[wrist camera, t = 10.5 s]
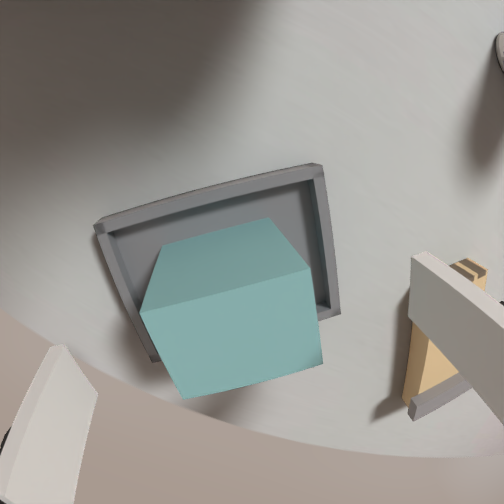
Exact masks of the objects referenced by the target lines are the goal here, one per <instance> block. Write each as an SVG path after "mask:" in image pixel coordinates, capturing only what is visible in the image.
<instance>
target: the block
mask: <svg viewBox="0 0 504 504" xmlns="http://www.w3.org/2000/svg"><path fill="white" fill-rule="evenodd" d="M140 315H141V318H142V320H143V322H144V324H145V326H146V328H147V331H148V333H149V335H150V337H151V339H152V341H153V343H154V345H155V347H156V349H157V351H158V353H159V355H160V357H161V359H162V361H163V363H164V365H165V367H166V369H167V371H168V373H169V375H170V376H171V378H172V380H173V382H174V384H175V386H176V388H177V389H178V391H179V393H180V395H181V397H182V398H183V400H184V399H189V398H194V397H199V396H204V395H209V394H214V393H218V392H223V391H227V390H232V389H236V388H240V387H244V386H248V385H252V384H256V383H260V382H264V381H267V380H271V379H275V378H278V377H282V376H285V375H289V374H292V373H295V372H299V371H302V370H305V369H308V368H311V367H315V366H318V365H321V364H323V359H322V351H321V342H320V334H319V326H318V318H317V311H316V304H315V297H314V290H313V283H312V276H311V270H310V267H309V266H308V265H307V263H306V262H305V261H304V260H303V258H302V257H301V256H300V255H299V254H298V252H297V251H296V250H295V249H294V247H293V246H292V245H291V244H290V242H289V241H288V240H287V239H286V238H285V236H284V235H283V234H282V233H281V231H280V230H279V229H278V228H277V227H276V225H275V224H274V223H273V222H272V220H271V219H270V218H269V217H268V218H264V219H260V220H256V221H252V222H248V223H245V224H241V225H237V226H233V227H229V228H225V229H222V230H218V231H214V232H210V233H207V234H203V235H199V236H196V237H192V238H188V239H185V240H181V241H177V242H174V243H170V244H167V245H163V246H162V248H161V251H160V253H159V256H158V259H157V262H156V265H155V267H154V270H153V273H152V276H151V279H150V282H149V285H148V288H147V291H146V294H145V297H144V300H143V303H142V306H141V310H140Z"/></svg>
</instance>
